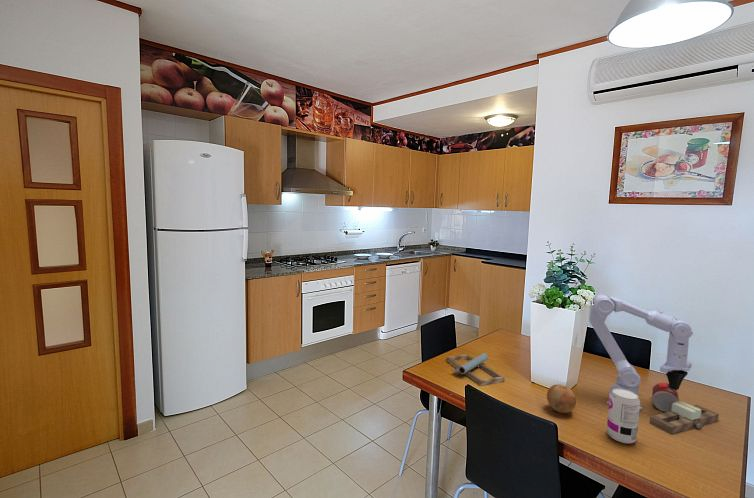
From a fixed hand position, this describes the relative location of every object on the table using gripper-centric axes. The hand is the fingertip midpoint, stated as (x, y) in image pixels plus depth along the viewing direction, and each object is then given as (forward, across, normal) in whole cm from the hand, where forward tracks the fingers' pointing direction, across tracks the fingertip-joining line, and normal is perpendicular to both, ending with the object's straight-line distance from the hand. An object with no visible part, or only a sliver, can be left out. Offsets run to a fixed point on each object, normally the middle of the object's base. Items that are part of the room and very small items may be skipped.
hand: (674, 388), depth 135 cm
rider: (+10, -1, -5) cm, 11 cm away
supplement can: (+10, -32, -4) cm, 34 cm away
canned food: (+6, +9, +8) cm, 13 cm away
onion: (+10, -38, +15) cm, 42 cm away
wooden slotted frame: (+10, -1, -5) cm, 11 cm away
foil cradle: (+9, -48, +55) cm, 74 cm away
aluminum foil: (+8, -49, +57) cm, 75 cm away
